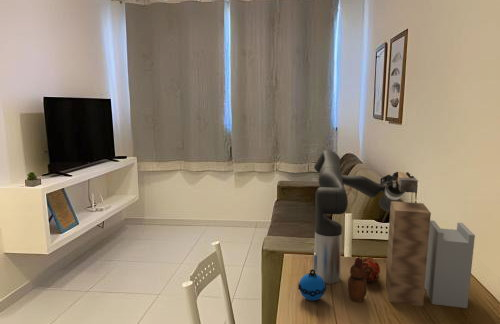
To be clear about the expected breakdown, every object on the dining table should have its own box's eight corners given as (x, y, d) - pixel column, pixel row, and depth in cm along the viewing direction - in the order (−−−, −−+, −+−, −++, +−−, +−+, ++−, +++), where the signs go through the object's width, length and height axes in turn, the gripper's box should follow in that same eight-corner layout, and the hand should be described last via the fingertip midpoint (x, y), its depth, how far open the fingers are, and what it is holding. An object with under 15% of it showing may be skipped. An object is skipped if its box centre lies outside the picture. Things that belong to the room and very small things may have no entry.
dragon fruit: (366, 292, 127) (363, 280, 138) (387, 279, 125) (383, 269, 137) (351, 270, 128) (349, 261, 139) (373, 258, 126) (369, 249, 138)
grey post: (432, 303, 116) (438, 232, 113) (424, 285, 128) (429, 220, 124) (467, 308, 114) (474, 235, 110) (456, 289, 126) (462, 222, 122)
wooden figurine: (366, 304, 116) (369, 259, 113) (347, 302, 117) (349, 257, 115) (364, 294, 122) (367, 251, 120) (346, 292, 123) (348, 249, 121)
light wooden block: (400, 191, 121) (401, 179, 120) (392, 179, 140) (393, 169, 139) (416, 192, 120) (417, 180, 119) (406, 180, 139) (407, 169, 138)
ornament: (323, 292, 123) (324, 264, 121) (326, 306, 115) (327, 276, 113) (297, 291, 124) (298, 263, 122) (298, 305, 115) (299, 275, 114)
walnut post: (388, 301, 118) (395, 210, 113) (385, 285, 128) (390, 201, 123) (422, 305, 115) (430, 212, 111) (416, 288, 126) (423, 203, 121)
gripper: (377, 178, 152) (382, 163, 136) (413, 180, 149) (423, 165, 133) (376, 196, 150) (381, 183, 134) (414, 198, 146) (423, 185, 131)
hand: (402, 174), depth 134 cm, fingers closed on light wooden block, 3 cm apart
